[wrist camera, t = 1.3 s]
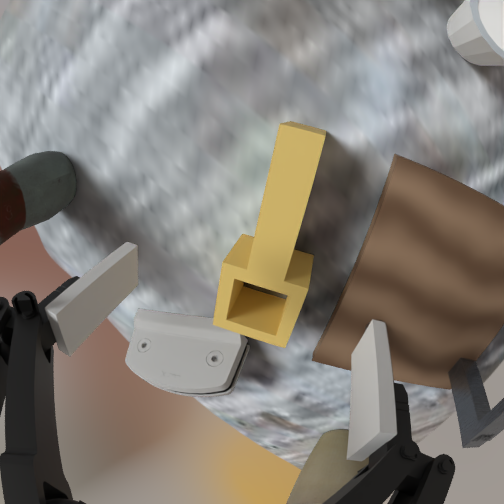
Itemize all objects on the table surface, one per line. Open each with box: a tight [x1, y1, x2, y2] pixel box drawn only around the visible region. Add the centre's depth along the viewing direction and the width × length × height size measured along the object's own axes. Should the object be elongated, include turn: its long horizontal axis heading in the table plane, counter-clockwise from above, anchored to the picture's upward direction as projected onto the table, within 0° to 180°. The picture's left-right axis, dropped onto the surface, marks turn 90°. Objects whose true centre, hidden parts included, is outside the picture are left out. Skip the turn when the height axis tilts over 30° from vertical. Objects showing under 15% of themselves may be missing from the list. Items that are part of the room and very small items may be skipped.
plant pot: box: [287, 429, 369, 504], centre depth 37 cm, size 15×15×16 cm
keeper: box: [448, 357, 504, 448], centre depth 22 cm, size 11×4×13 cm, turn 169°
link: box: [213, 121, 326, 348], centre depth 26 cm, size 20×8×6 cm, turn 169°
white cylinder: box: [447, 0, 504, 66], centre depth 12 cm, size 7×7×7 cm
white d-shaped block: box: [125, 308, 250, 397], centre depth 36 cm, size 17×5×10 cm, turn 96°
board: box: [312, 154, 504, 389], centre depth 27 cm, size 25×22×2 cm
